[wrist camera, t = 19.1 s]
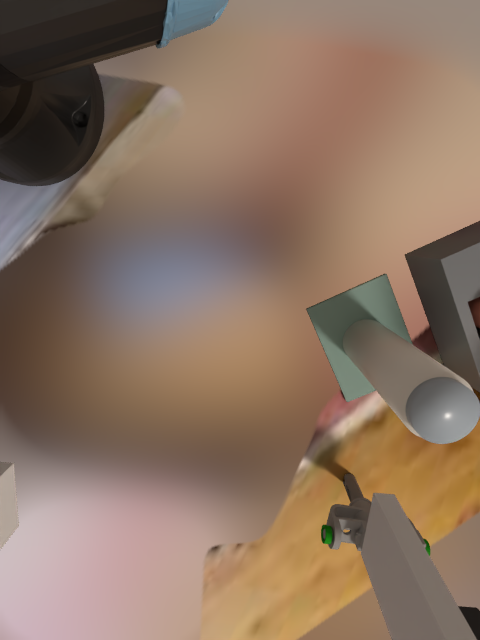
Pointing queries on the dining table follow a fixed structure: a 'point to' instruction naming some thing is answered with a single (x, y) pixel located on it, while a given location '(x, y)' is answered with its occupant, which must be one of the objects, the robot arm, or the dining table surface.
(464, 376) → the housing
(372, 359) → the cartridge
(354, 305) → the mat
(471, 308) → the pink egg shape
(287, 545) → the dining table surface
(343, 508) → the mechanical component
